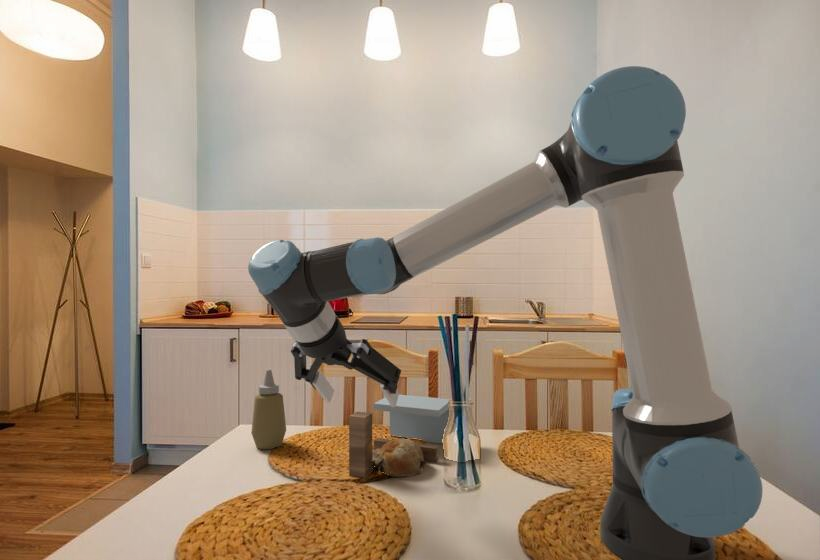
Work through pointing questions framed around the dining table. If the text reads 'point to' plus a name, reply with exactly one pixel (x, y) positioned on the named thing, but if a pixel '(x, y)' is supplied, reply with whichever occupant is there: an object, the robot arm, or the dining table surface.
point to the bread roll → (400, 458)
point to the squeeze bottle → (268, 415)
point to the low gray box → (417, 417)
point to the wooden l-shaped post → (362, 445)
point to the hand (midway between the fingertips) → (362, 398)
